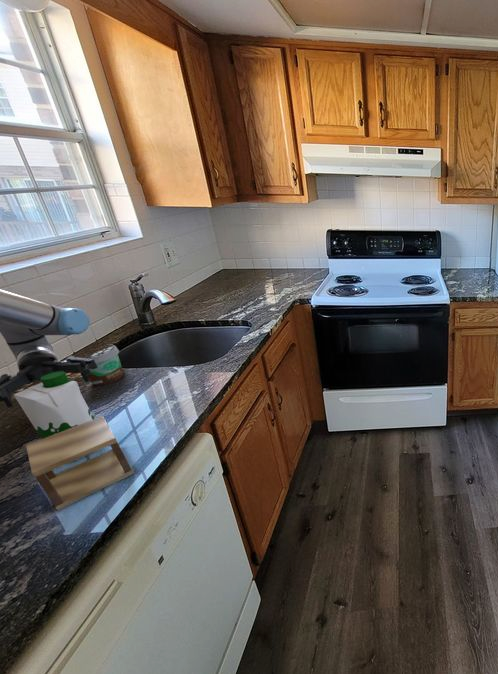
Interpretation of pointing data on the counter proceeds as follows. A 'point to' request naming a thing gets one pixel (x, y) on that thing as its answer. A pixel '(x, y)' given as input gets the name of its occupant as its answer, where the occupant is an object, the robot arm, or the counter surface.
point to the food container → (105, 366)
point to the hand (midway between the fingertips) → (48, 389)
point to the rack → (84, 475)
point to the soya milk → (54, 404)
